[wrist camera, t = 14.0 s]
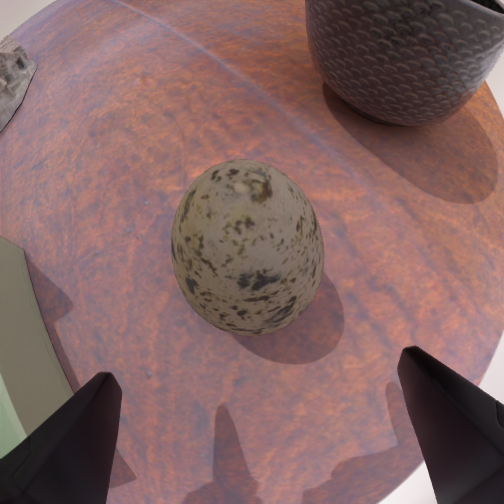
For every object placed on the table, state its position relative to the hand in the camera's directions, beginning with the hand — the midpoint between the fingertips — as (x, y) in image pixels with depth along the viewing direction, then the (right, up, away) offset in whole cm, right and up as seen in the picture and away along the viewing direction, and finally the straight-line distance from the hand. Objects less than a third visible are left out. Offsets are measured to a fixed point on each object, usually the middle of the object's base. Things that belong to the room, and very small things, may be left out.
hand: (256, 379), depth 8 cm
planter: (+10, +17, +13) cm, 24 cm away
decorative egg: (0, +2, +8) cm, 9 cm away
